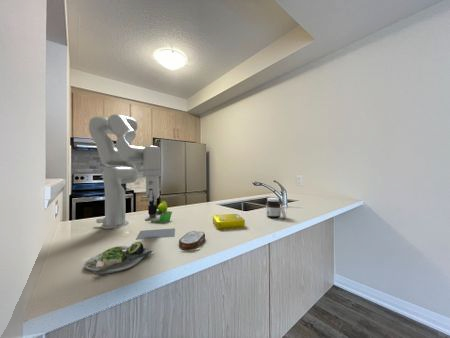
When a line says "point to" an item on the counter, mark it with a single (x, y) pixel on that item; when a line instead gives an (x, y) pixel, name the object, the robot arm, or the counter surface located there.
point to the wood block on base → (152, 216)
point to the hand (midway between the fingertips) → (152, 213)
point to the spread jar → (274, 208)
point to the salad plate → (117, 258)
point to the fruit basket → (163, 212)
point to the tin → (192, 240)
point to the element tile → (228, 221)
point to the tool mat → (156, 233)
